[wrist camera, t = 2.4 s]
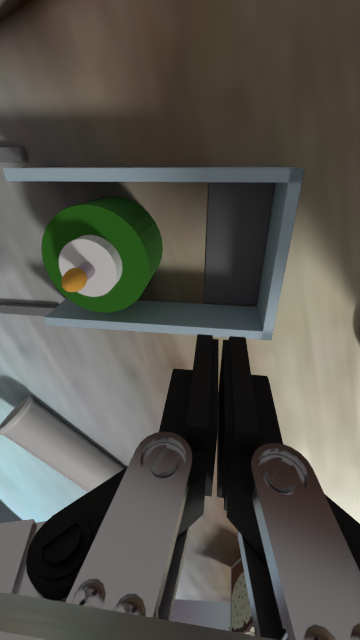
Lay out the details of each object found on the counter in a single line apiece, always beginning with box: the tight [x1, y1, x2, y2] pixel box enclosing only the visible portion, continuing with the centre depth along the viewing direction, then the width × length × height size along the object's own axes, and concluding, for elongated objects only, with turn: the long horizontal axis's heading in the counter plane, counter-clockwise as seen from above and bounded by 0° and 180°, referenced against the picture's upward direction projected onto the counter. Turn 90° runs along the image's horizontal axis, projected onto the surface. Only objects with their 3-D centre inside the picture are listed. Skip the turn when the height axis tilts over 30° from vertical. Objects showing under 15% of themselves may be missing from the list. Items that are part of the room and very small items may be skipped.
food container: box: [229, 557, 255, 636], centre depth 48 cm, size 12×6×10 cm, turn 164°
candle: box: [42, 196, 163, 313], centre depth 21 cm, size 8×8×10 cm
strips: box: [0, 147, 57, 316], centre depth 26 cm, size 7×15×1 cm, turn 0°
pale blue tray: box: [3, 167, 305, 340], centre depth 23 cm, size 20×13×4 cm, turn 90°
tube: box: [0, 396, 124, 492], centre depth 40 cm, size 5×5×25 cm
